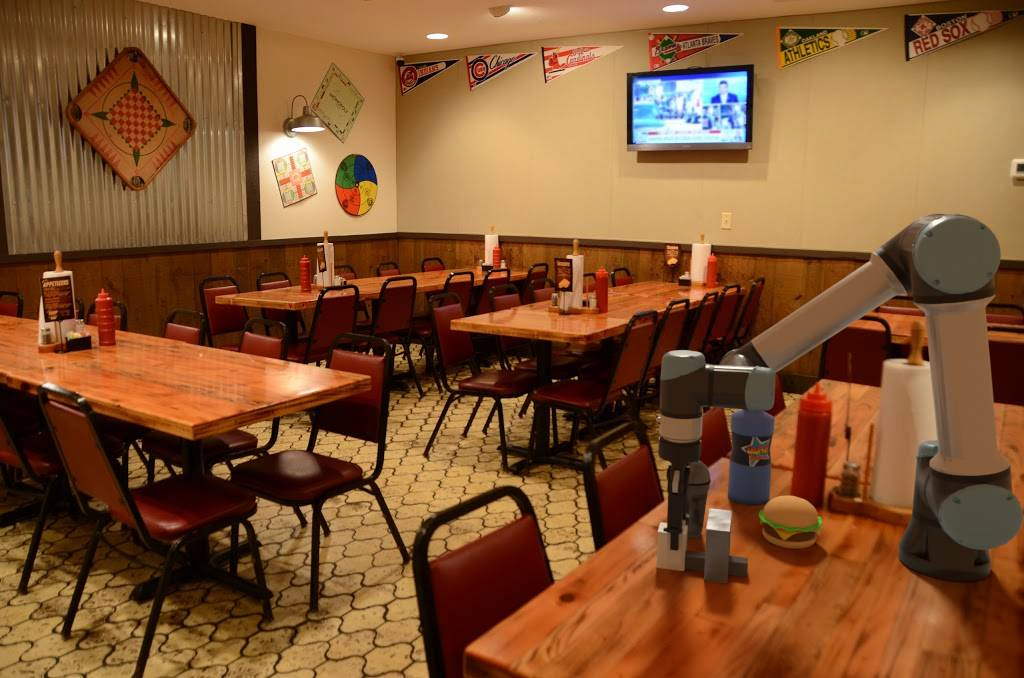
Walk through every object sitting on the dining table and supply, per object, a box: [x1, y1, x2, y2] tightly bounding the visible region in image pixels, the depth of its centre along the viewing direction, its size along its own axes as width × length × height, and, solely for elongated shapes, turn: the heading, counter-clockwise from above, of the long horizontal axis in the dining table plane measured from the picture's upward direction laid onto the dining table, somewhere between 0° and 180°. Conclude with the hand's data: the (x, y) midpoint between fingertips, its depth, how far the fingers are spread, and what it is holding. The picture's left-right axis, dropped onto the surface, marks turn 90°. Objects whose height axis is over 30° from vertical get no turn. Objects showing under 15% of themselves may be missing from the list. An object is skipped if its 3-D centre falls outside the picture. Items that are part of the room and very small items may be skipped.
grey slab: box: [703, 507, 733, 585], centre depth 146 cm, size 4×10×10 cm, turn 163°
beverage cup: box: [683, 459, 712, 539], centre depth 161 cm, size 7×7×20 cm
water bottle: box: [727, 409, 776, 506], centre depth 180 cm, size 9×9×25 cm
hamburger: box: [758, 495, 823, 550], centre depth 160 cm, size 12×12×9 cm
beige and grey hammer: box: [655, 521, 749, 578], centre depth 147 cm, size 16×4×7 cm, turn 73°
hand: (675, 558), depth 149 cm, fingers closed on beige and grey hammer, 4 cm apart
